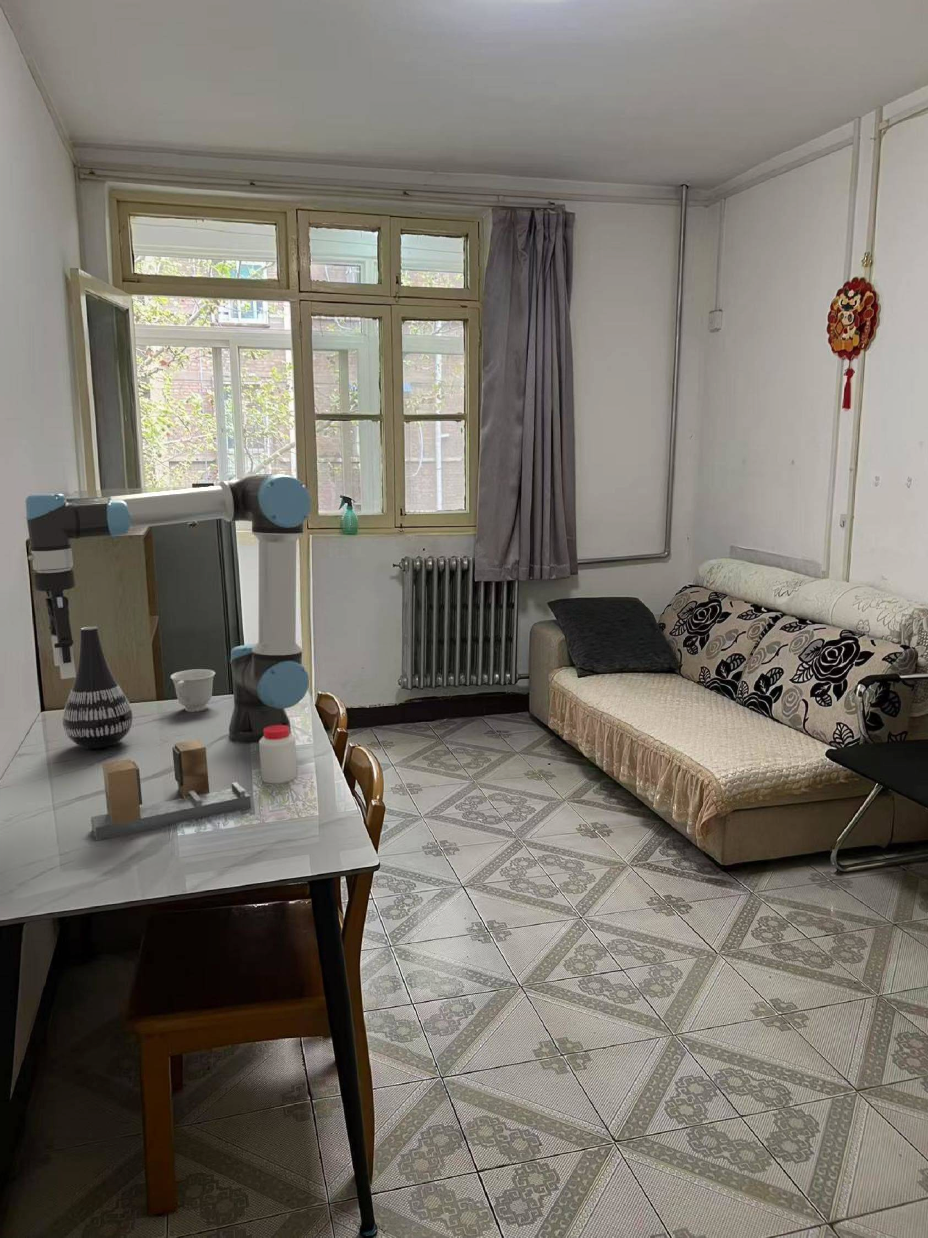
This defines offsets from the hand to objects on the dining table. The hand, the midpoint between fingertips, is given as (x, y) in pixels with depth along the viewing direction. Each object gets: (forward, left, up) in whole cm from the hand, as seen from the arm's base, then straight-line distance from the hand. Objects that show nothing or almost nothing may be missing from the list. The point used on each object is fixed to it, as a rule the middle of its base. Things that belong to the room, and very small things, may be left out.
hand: (65, 671), depth 192 cm
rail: (-14, +28, -26) cm, 40 cm away
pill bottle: (-39, +17, -26) cm, 50 cm away
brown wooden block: (-21, +15, -26) cm, 36 cm away
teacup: (-36, -48, -26) cm, 66 cm away
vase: (-9, -29, -26) cm, 40 cm away
